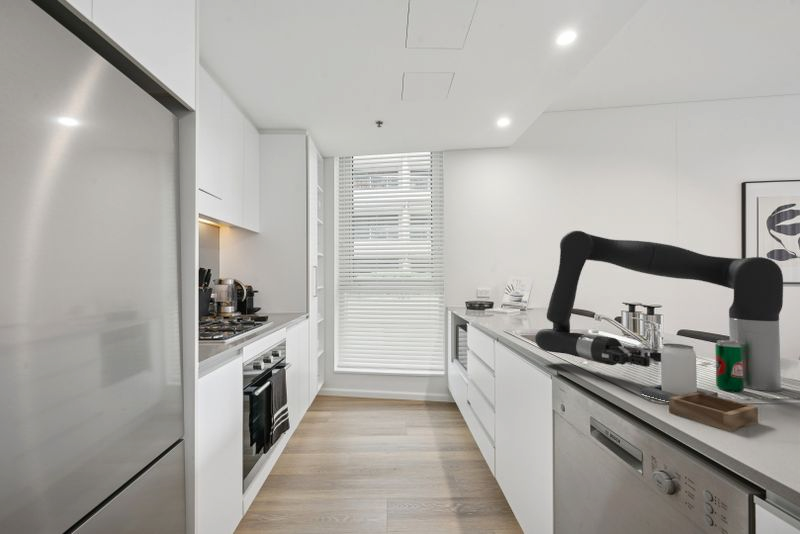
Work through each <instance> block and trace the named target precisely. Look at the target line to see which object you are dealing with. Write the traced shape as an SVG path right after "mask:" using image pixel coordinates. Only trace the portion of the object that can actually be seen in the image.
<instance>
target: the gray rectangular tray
mask: <svg viewBox="0 0 800 534" xmlns="http://www.w3.org/2000/svg"><path fill="white" fill-rule="evenodd" d="M640 392H641V393H640V395H641V394H644V395H647V396H650V397H654V398H657V399H661V400H665V401H669V398H670V397H675V396H679V395H676V394H673V393H669V392H665V391H662V388H661V384H657V385H652V386H648V387H647V386H646V387H641V389H640ZM697 392H700V393H704V394H708V395H712V396H716V397H719V395H718V392H716V391H712V390H708V389H703V388H700V387H697Z"/></svg>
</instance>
